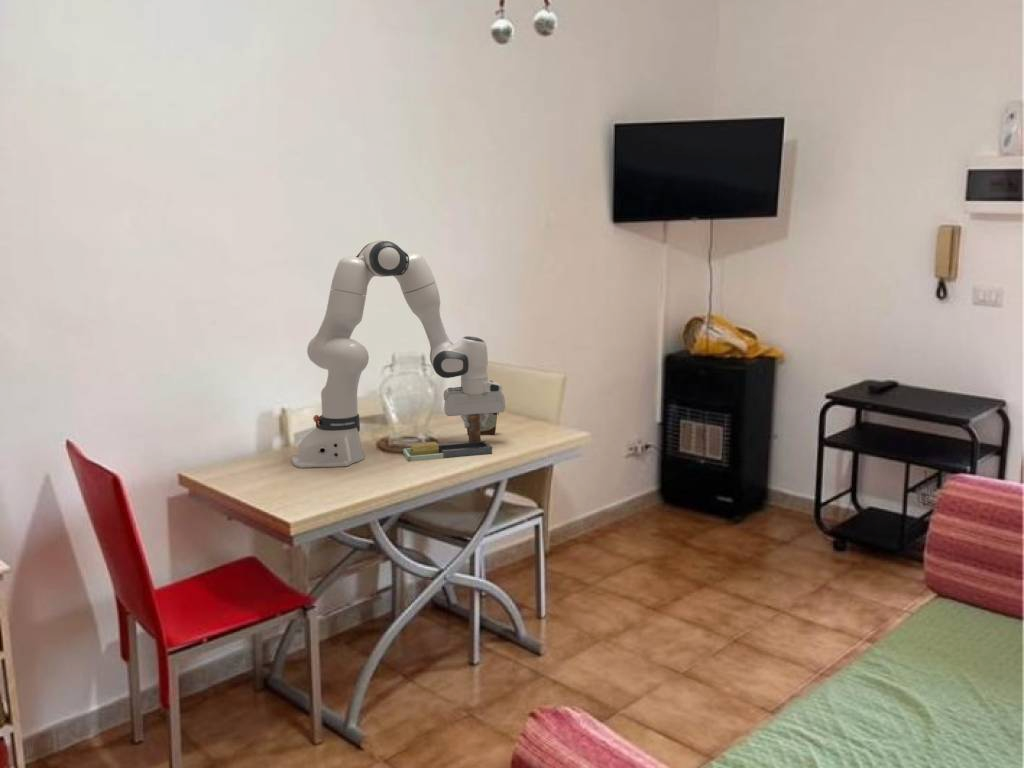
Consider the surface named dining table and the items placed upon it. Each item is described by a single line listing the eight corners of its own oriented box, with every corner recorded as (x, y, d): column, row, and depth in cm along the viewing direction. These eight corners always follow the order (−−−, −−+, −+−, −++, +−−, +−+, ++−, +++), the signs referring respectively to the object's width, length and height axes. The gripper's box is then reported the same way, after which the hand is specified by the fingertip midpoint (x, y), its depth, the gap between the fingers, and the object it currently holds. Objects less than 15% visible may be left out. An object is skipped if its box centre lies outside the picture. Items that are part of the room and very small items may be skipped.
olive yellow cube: (426, 458, 292) (426, 445, 292) (423, 454, 296) (423, 442, 295) (438, 456, 294) (438, 444, 293) (435, 453, 297) (435, 441, 297)
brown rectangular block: (472, 448, 306) (470, 415, 304) (469, 445, 310) (467, 413, 307) (480, 447, 307) (479, 414, 304) (477, 444, 311) (476, 412, 308)
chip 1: (413, 459, 291) (413, 446, 290) (411, 455, 295) (410, 443, 294) (426, 458, 292) (425, 445, 292) (423, 454, 296) (423, 442, 295)
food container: (501, 433, 324) (501, 405, 322) (499, 438, 318) (499, 409, 316) (466, 432, 326) (465, 405, 324) (463, 437, 320) (463, 409, 318)
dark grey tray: (443, 461, 291) (443, 452, 290) (436, 453, 300) (436, 444, 300) (492, 456, 296) (492, 447, 295) (484, 448, 305) (484, 440, 304)
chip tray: (408, 464, 288) (408, 456, 287) (402, 455, 297) (402, 448, 297) (443, 461, 291) (443, 453, 290) (436, 453, 300) (436, 445, 300)
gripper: (445, 389, 298) (446, 431, 301) (506, 385, 304) (506, 427, 307) (441, 386, 304) (442, 427, 307) (501, 382, 310) (501, 422, 313)
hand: (474, 427), depth 307 cm, fingers open, 4 cm apart
